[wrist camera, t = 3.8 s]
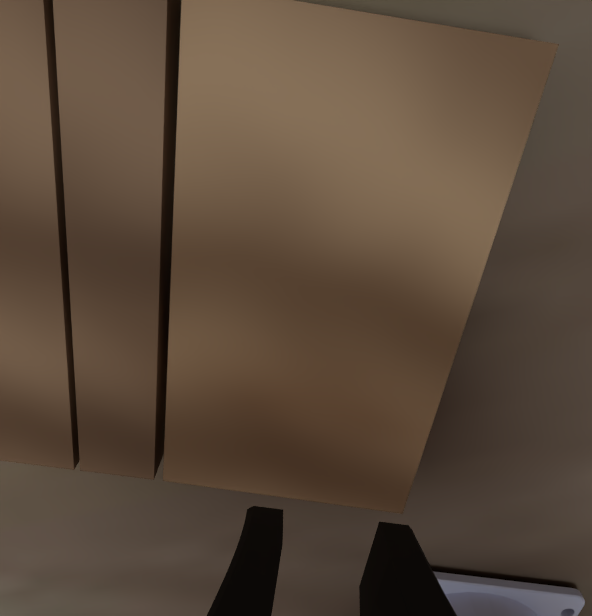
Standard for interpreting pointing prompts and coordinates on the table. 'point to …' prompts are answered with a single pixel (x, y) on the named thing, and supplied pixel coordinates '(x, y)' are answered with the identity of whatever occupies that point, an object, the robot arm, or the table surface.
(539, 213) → the table surface
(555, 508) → the table surface
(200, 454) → the board
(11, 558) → the table surface
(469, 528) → the table surface
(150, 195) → the laid row
